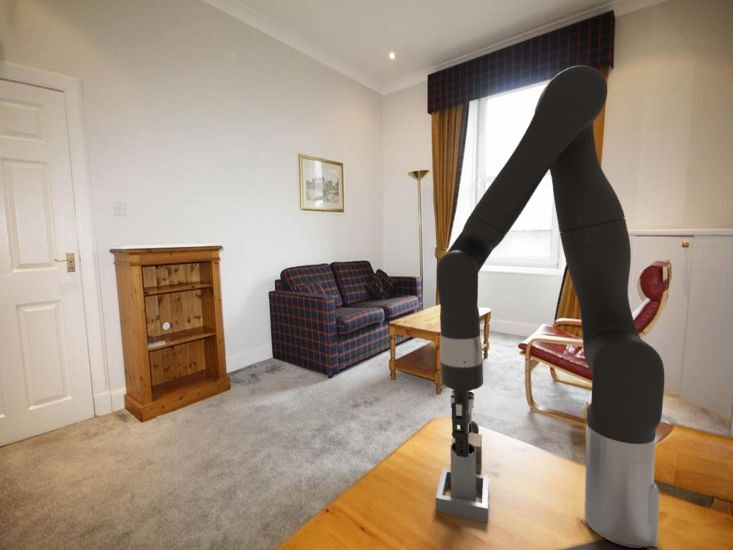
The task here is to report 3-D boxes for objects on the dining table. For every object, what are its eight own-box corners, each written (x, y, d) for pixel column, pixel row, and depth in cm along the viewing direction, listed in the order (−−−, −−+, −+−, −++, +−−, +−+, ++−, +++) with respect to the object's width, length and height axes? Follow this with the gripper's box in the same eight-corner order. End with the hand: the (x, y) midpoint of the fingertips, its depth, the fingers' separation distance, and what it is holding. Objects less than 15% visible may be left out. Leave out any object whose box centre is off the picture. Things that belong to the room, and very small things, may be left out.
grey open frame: (488, 488, 70) (488, 476, 70) (487, 522, 61) (487, 508, 61) (442, 479, 73) (442, 467, 73) (436, 510, 65) (435, 497, 64)
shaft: (478, 437, 85) (478, 421, 84) (476, 460, 76) (476, 442, 75) (461, 434, 86) (461, 418, 86) (457, 456, 77) (457, 439, 77)
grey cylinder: (477, 509, 64) (476, 455, 64) (451, 506, 65) (450, 453, 64) (474, 492, 69) (474, 441, 68) (451, 489, 70) (450, 440, 69)
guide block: (481, 462, 78) (481, 434, 77) (480, 477, 73) (480, 446, 73) (454, 458, 80) (454, 430, 79) (452, 471, 75) (451, 442, 75)
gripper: (481, 373, 57) (484, 469, 58) (483, 348, 70) (486, 426, 71) (434, 370, 59) (438, 462, 61) (445, 346, 73) (448, 422, 74)
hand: (464, 442), depth 66 cm, fingers open, 8 cm apart
